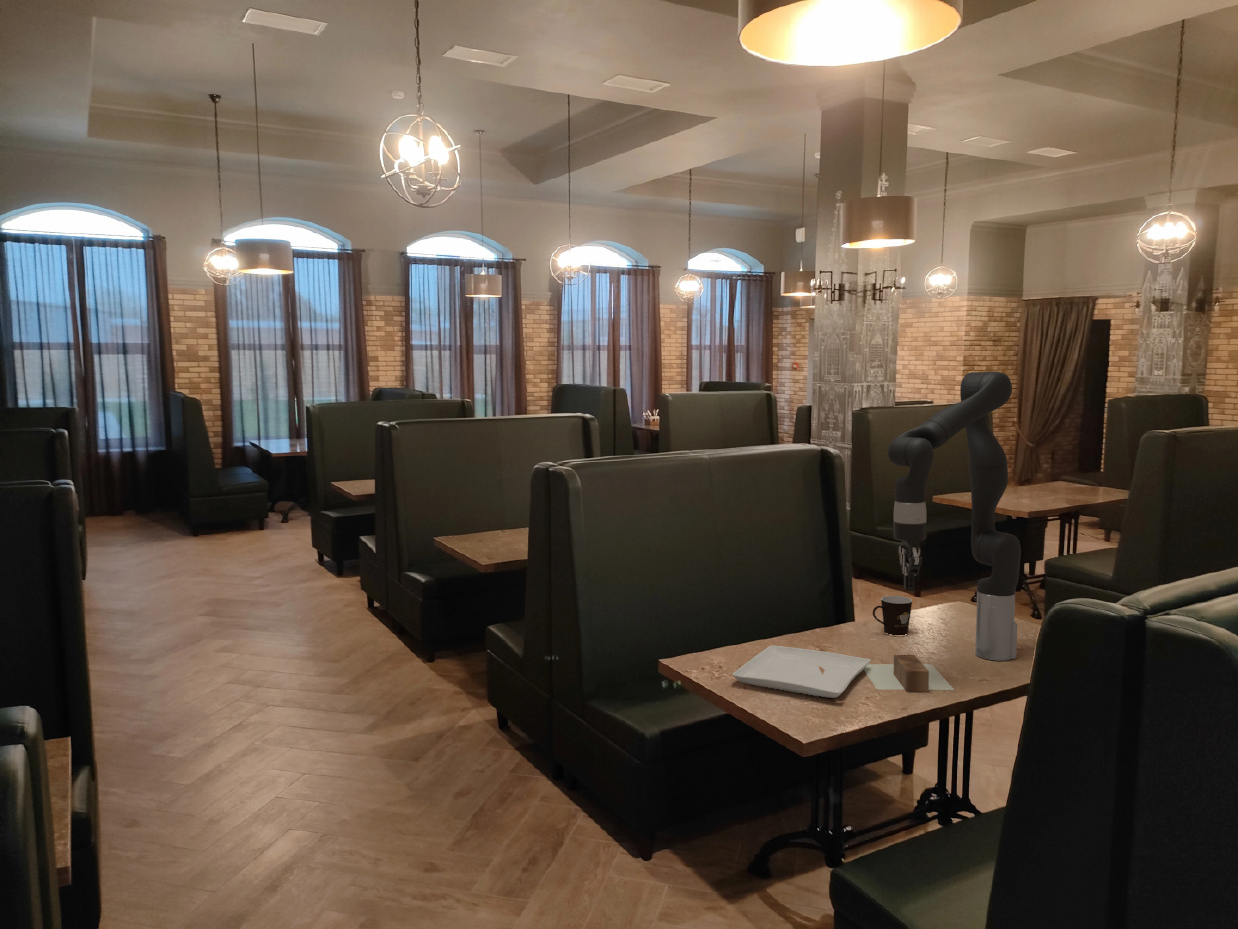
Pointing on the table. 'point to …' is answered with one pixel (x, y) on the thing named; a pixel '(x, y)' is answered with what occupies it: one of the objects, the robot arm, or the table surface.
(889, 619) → the coffee mug
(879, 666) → the sage mat
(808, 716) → the table surface
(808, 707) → the table surface
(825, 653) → the square plate
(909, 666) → the walnut block
